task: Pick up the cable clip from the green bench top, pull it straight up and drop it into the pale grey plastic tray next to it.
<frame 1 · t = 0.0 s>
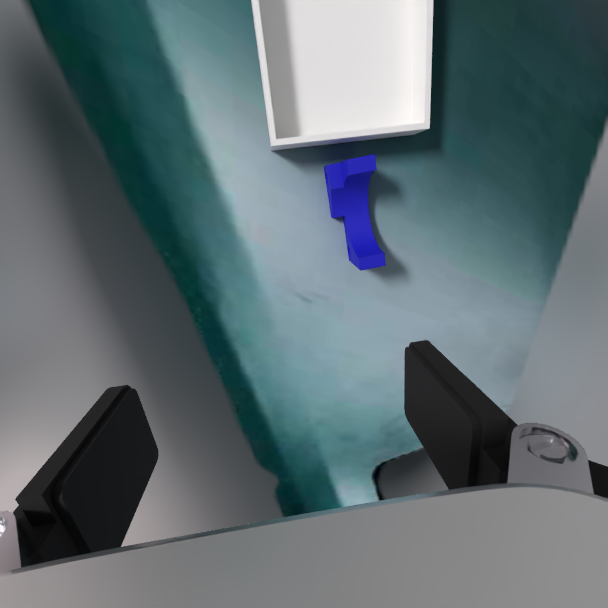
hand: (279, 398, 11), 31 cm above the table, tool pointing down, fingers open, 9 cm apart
tray: (338, 58, 34), on the table
cable clip: (347, 213, 40), on the table
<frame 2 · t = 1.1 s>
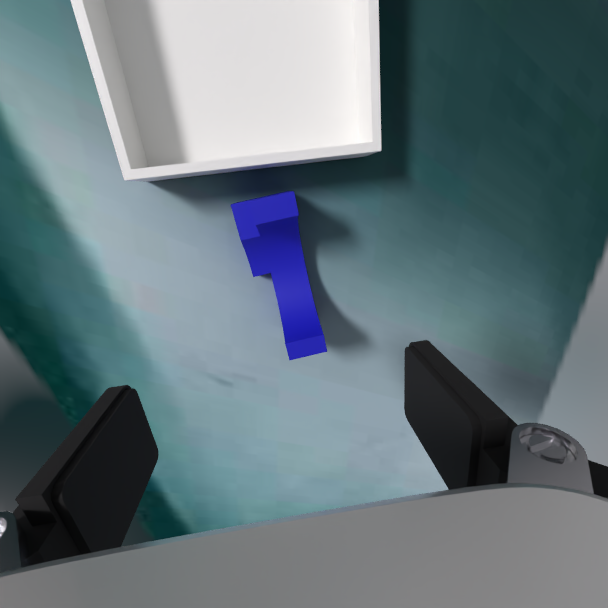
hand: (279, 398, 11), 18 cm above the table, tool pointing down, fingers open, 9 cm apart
tray: (238, 38, 21), on the table
cable clip: (278, 266, 28), on the table
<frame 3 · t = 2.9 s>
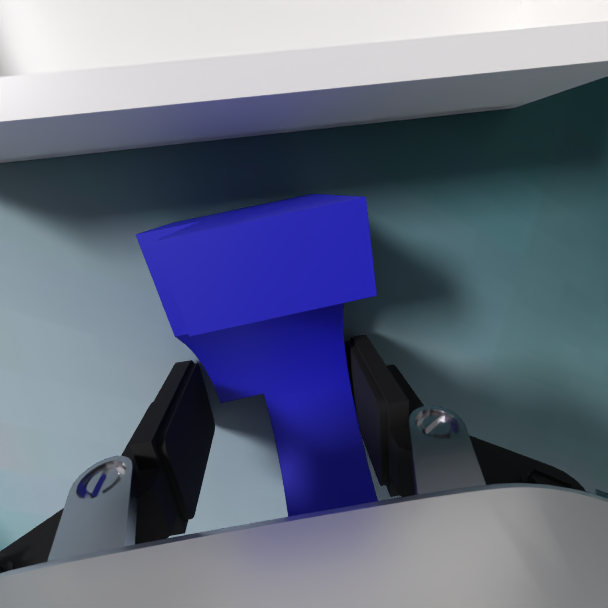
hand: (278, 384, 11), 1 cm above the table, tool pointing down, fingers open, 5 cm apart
cable clip: (283, 363, 12), on the table, touching gripper
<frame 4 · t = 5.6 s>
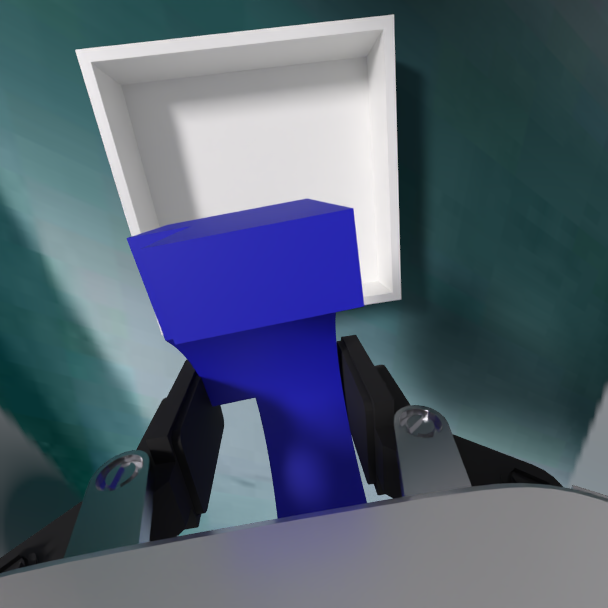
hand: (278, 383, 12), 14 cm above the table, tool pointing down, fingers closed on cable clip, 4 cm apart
tray: (265, 195, 23), on the table
cable clip: (276, 366, 12), point 14 cm above the table, touching gripper
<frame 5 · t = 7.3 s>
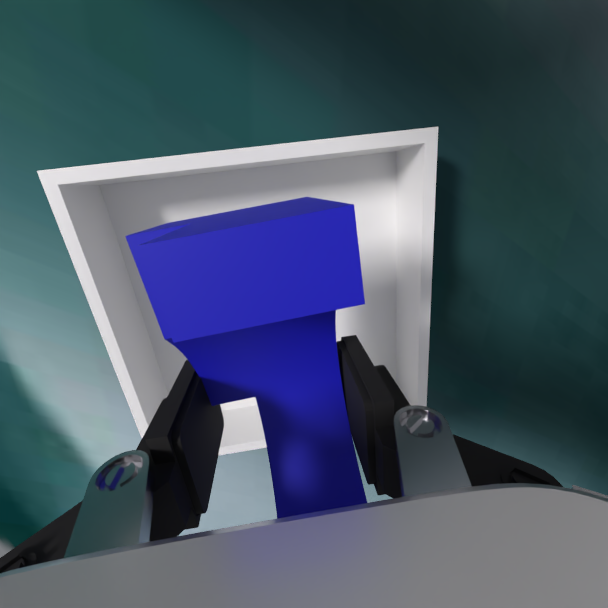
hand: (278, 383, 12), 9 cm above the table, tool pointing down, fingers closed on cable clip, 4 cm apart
tray: (272, 297, 20), on the table
cable clip: (276, 365, 12), point 8 cm above the table, touching gripper
when the fingers open (3 cm above the table, at t = 8.8 s): cable clip drops 2 cm, resting on tray.
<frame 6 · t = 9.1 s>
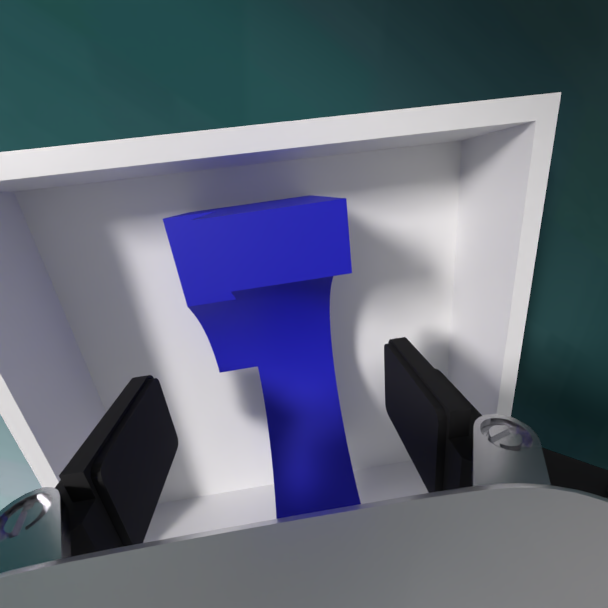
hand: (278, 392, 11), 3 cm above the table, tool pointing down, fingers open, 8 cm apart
tray: (277, 347, 14), on the table
cable clip: (276, 343, 14), resting on tray
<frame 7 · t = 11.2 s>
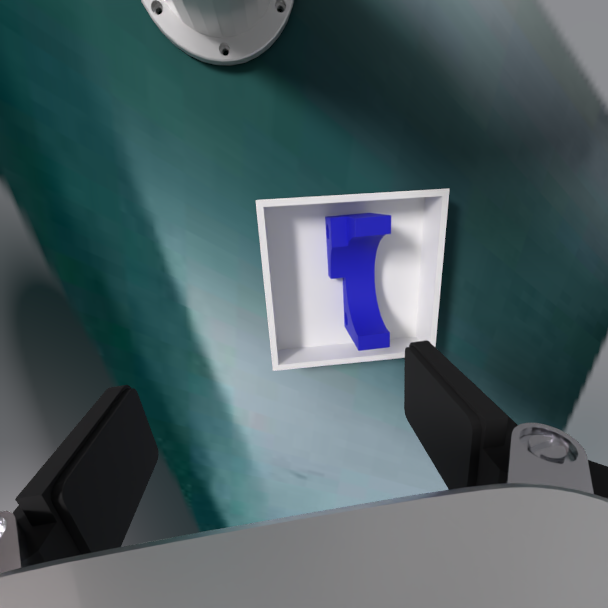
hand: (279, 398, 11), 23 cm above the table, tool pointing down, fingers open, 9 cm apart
tray: (345, 276, 33), on the table
cable clip: (348, 272, 33), resting on tray
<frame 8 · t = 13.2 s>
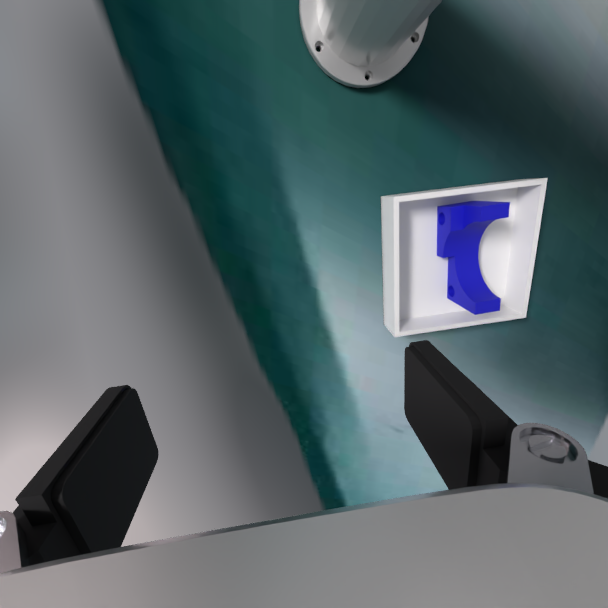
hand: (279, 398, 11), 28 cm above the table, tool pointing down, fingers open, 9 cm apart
tray: (447, 256, 40), on the table
cable clip: (452, 252, 39), resting on tray
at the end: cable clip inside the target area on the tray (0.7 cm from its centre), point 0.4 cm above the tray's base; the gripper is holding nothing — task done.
